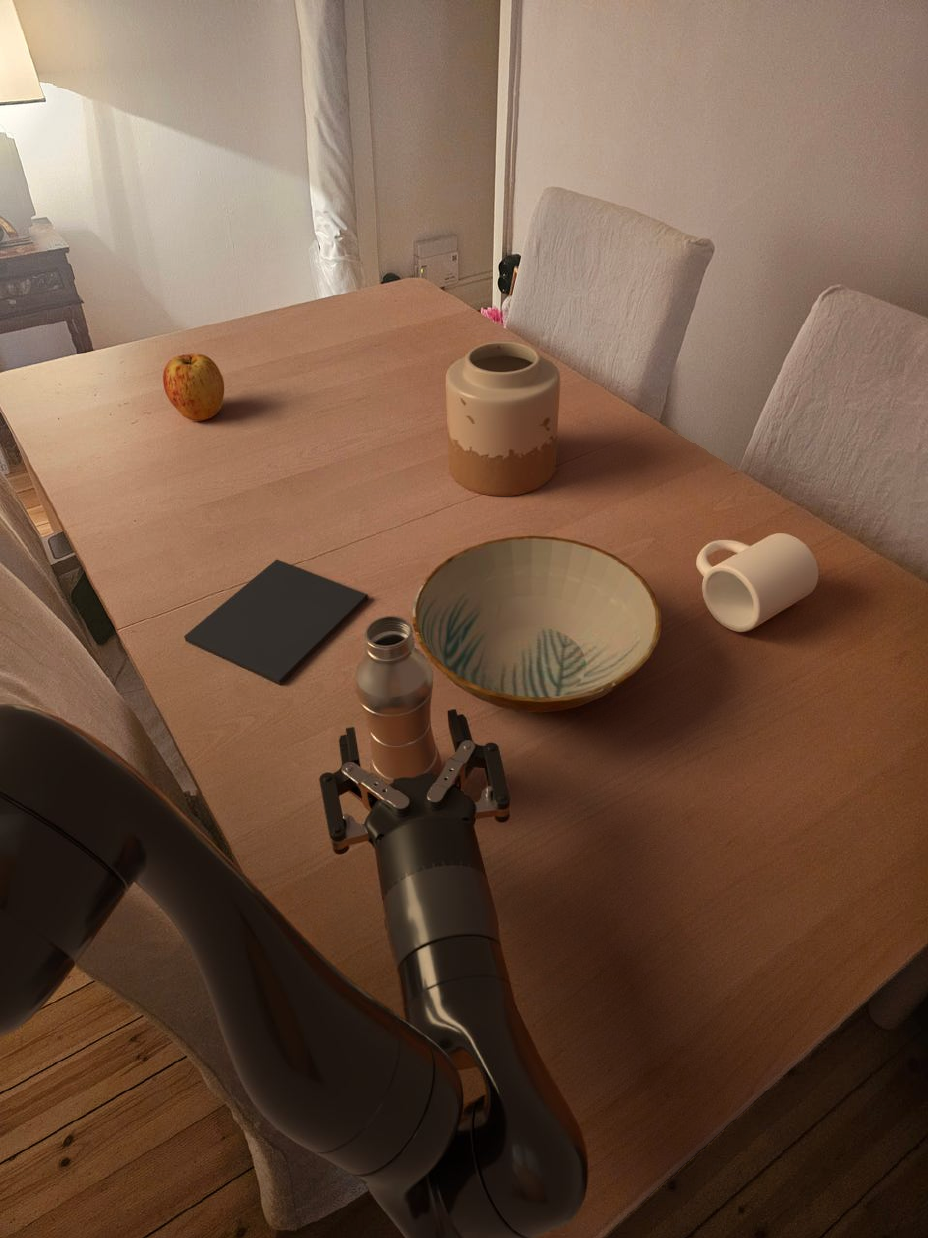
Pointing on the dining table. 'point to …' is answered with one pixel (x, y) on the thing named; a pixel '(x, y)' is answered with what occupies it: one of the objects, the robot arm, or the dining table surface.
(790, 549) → the mug
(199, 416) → the apple
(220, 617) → the mat
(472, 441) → the vase
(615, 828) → the dining table surface
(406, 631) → the silver metal bottle
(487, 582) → the bowl
